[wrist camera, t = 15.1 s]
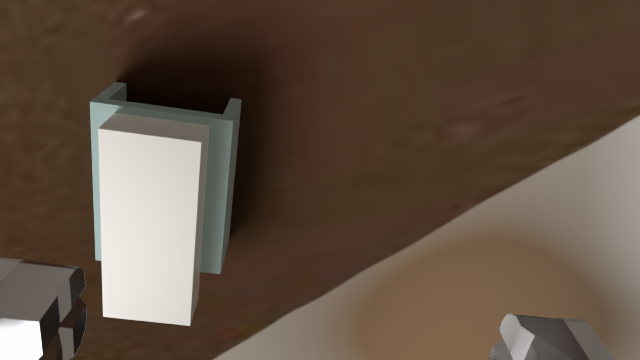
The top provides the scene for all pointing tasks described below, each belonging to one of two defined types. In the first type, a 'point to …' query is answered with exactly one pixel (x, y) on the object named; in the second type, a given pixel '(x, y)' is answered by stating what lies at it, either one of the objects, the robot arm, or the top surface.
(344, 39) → the top surface
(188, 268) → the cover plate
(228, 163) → the case
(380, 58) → the top surface
